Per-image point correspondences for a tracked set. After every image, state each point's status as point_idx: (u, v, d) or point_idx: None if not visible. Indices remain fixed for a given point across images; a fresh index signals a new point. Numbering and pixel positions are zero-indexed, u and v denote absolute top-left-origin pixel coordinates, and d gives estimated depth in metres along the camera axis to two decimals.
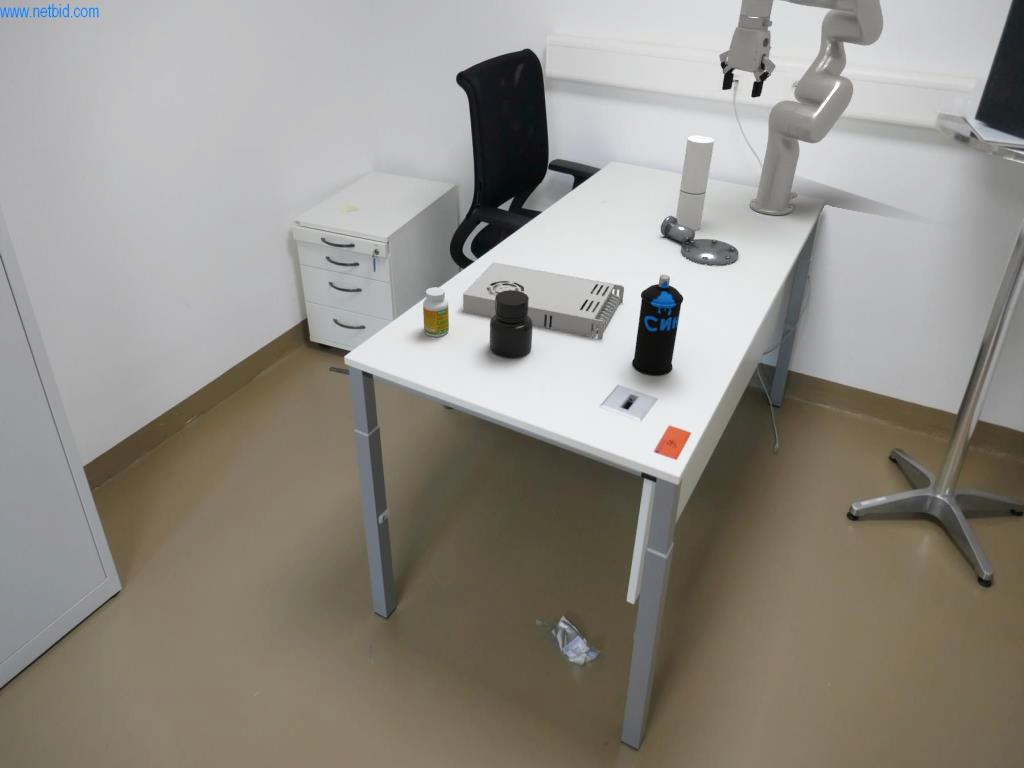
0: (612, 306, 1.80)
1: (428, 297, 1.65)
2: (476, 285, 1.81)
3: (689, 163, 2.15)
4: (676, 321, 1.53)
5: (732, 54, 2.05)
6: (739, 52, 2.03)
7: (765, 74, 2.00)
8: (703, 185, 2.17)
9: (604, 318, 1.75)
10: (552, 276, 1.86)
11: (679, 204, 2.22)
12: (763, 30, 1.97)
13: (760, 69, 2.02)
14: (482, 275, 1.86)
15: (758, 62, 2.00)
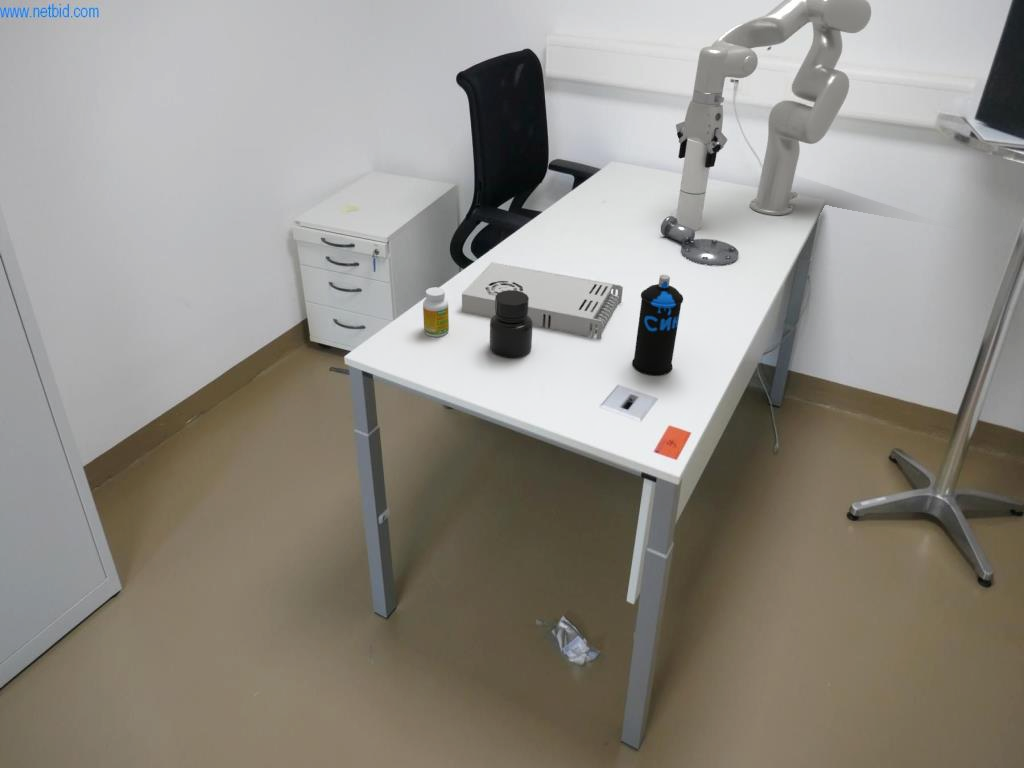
0: (611, 306, 1.80)
1: (428, 297, 1.65)
2: (475, 285, 1.81)
3: (689, 163, 2.15)
4: (676, 321, 1.53)
5: (687, 126, 2.12)
6: (693, 124, 2.10)
7: (717, 147, 2.08)
8: (703, 185, 2.17)
9: (603, 318, 1.75)
10: (551, 276, 1.86)
11: (679, 204, 2.22)
12: (715, 105, 2.05)
13: (713, 141, 2.10)
14: (481, 275, 1.86)
15: (711, 135, 2.08)
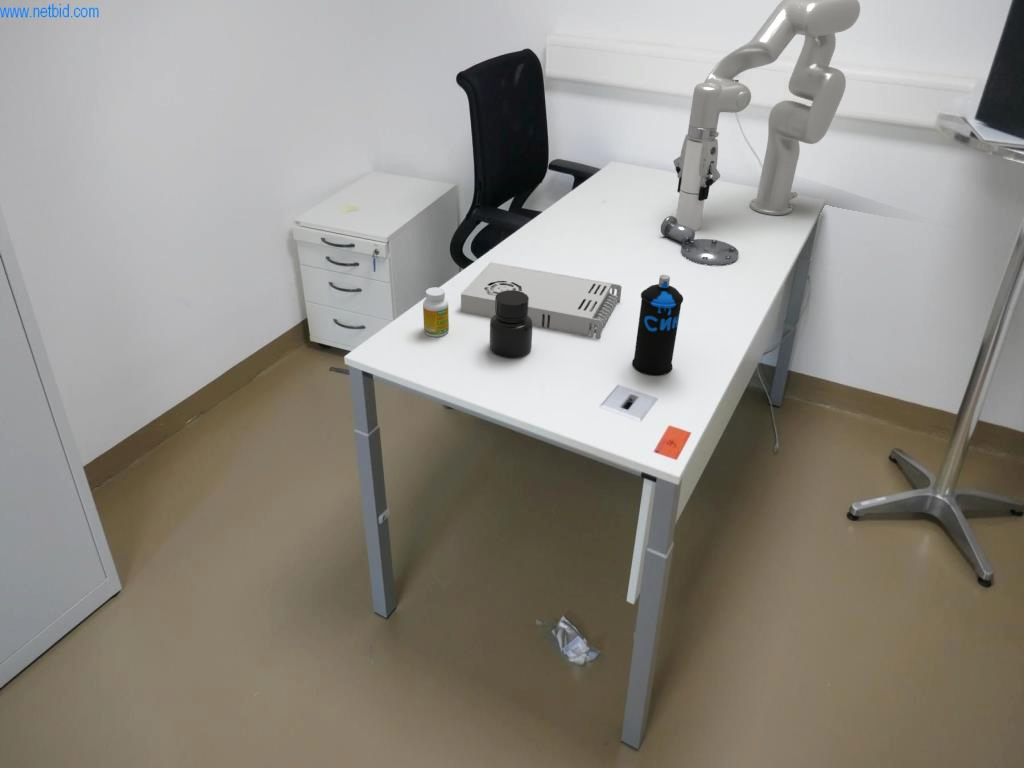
0: (610, 305, 1.80)
1: (428, 297, 1.65)
2: (474, 285, 1.81)
3: (689, 163, 2.15)
4: (676, 321, 1.53)
5: (683, 159, 2.17)
6: None
7: (710, 181, 2.14)
8: None
9: (602, 317, 1.75)
10: (549, 276, 1.86)
11: (679, 204, 2.22)
12: (710, 140, 2.10)
13: (707, 175, 2.16)
14: (480, 275, 1.86)
15: (706, 168, 2.13)
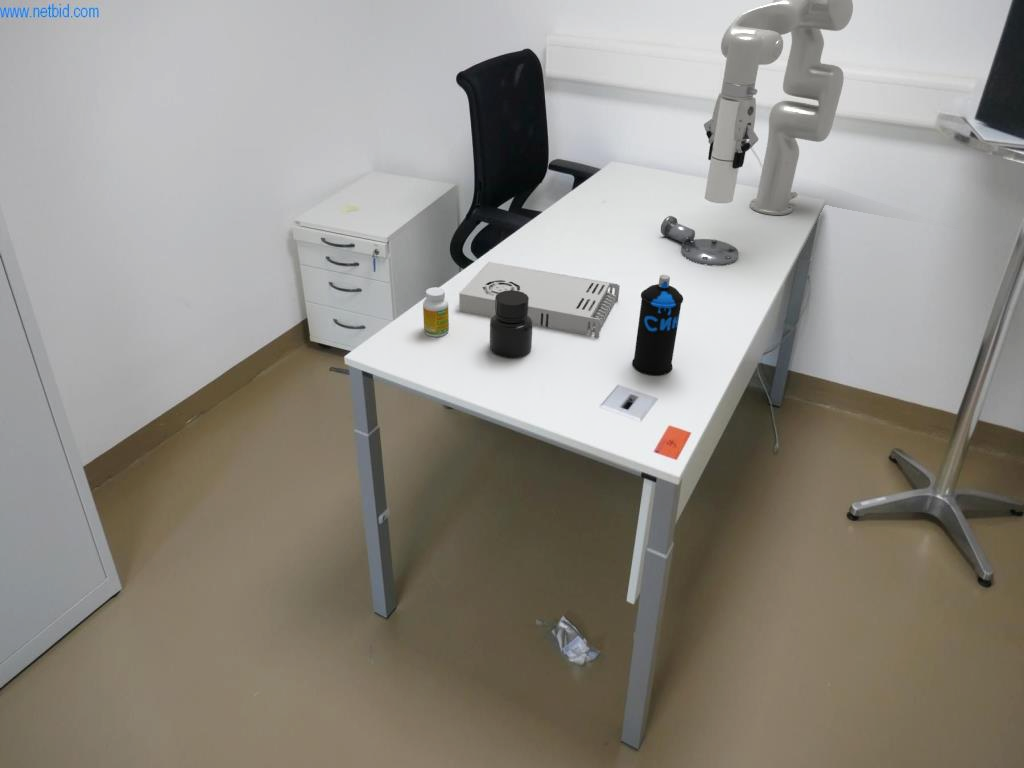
0: (608, 304, 1.80)
1: (428, 297, 1.65)
2: (472, 284, 1.81)
3: (722, 125, 1.90)
4: (676, 321, 1.53)
5: (715, 121, 1.93)
6: None
7: (747, 145, 1.89)
8: None
9: (600, 316, 1.75)
10: (548, 275, 1.87)
11: (710, 173, 1.98)
12: (748, 98, 1.86)
13: (743, 139, 1.91)
14: (478, 274, 1.86)
15: (743, 131, 1.88)
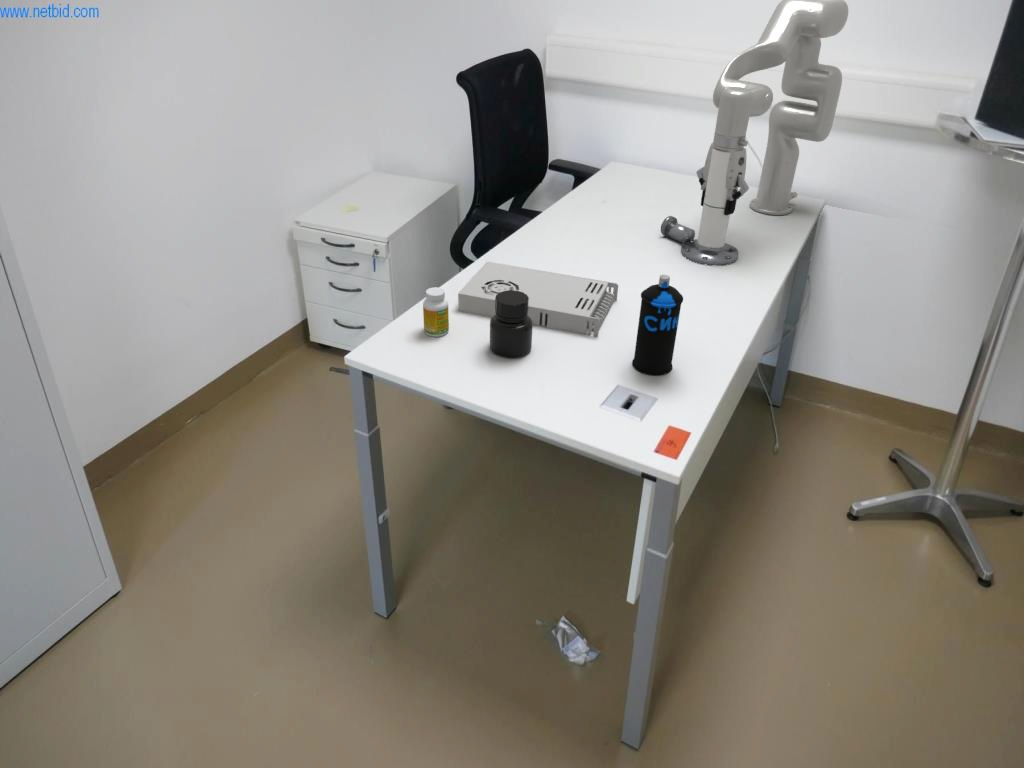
0: (607, 304, 1.81)
1: (428, 297, 1.65)
2: (471, 284, 1.81)
3: (714, 174, 1.96)
4: (676, 321, 1.53)
5: (708, 169, 1.99)
6: None
7: (738, 194, 1.96)
8: None
9: (599, 316, 1.76)
10: (546, 275, 1.87)
11: (702, 219, 2.04)
12: (738, 149, 1.92)
13: (734, 187, 1.97)
14: (477, 274, 1.86)
15: (734, 180, 1.95)
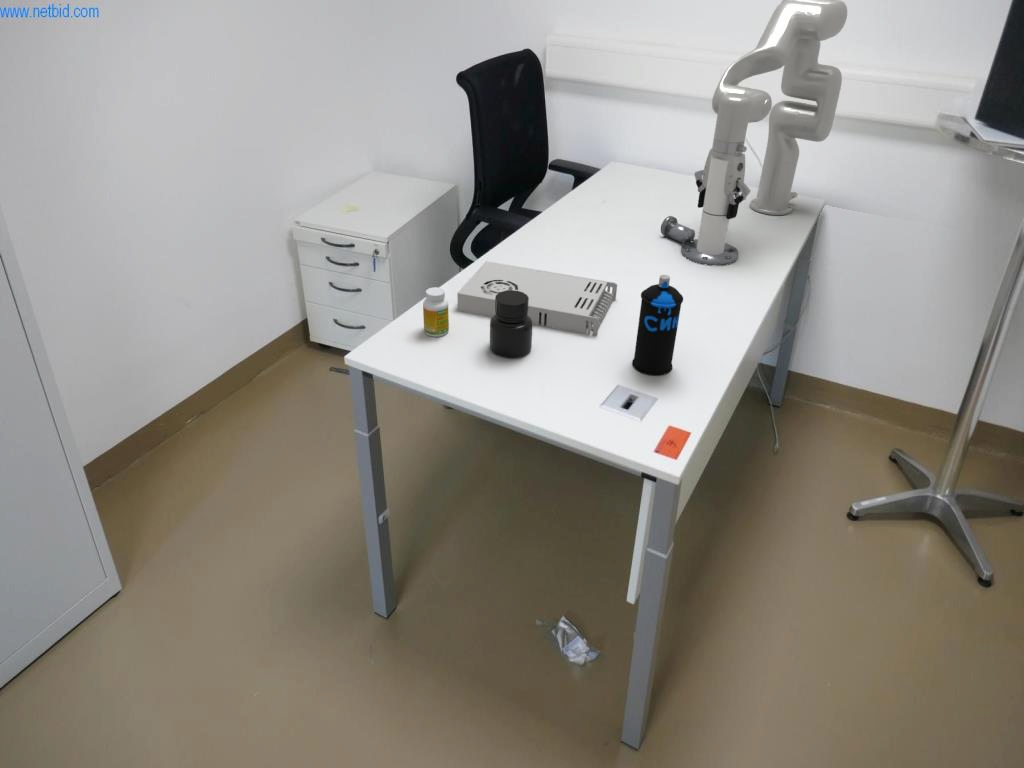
0: (606, 303, 1.81)
1: (428, 297, 1.65)
2: (470, 284, 1.81)
3: (713, 182, 1.98)
4: (676, 321, 1.53)
5: (707, 175, 2.00)
6: None
7: (740, 198, 1.96)
8: None
9: (598, 315, 1.76)
10: (545, 274, 1.87)
11: (701, 226, 2.05)
12: (737, 155, 1.93)
13: (735, 192, 1.98)
14: (476, 274, 1.86)
15: (733, 186, 1.95)
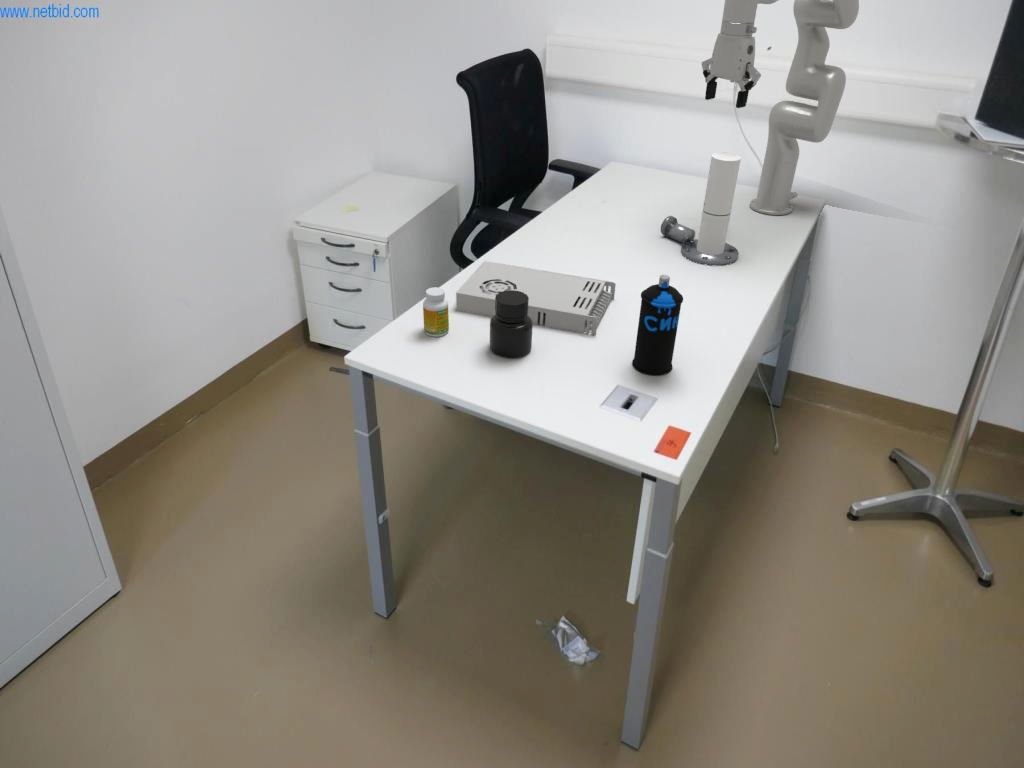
0: (604, 303, 1.81)
1: (428, 297, 1.65)
2: (468, 283, 1.82)
3: (713, 182, 1.98)
4: (676, 321, 1.53)
5: (715, 62, 1.93)
6: (722, 60, 1.91)
7: (750, 83, 1.88)
8: (728, 206, 2.00)
9: (597, 315, 1.76)
10: (544, 274, 1.87)
11: (702, 226, 2.06)
12: (747, 37, 1.85)
13: (745, 78, 1.90)
14: (474, 274, 1.86)
15: (742, 71, 1.88)
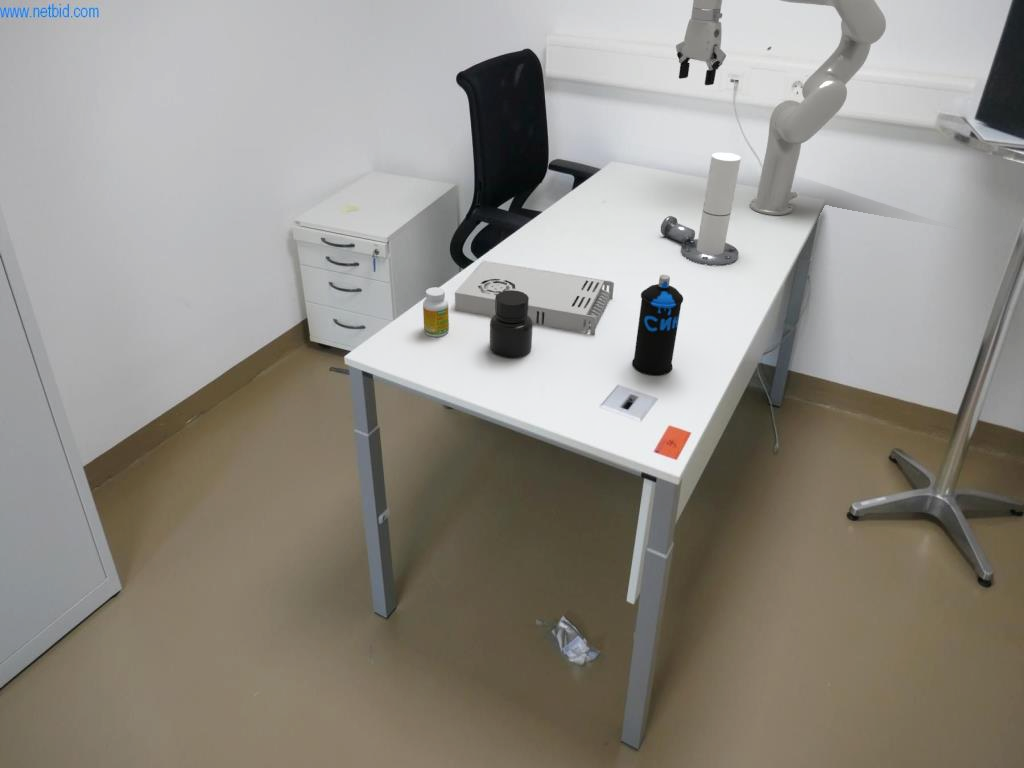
0: (603, 302, 1.81)
1: (428, 297, 1.65)
2: (467, 283, 1.82)
3: (713, 182, 1.98)
4: (676, 321, 1.53)
5: (687, 44, 2.18)
6: (693, 42, 2.16)
7: (716, 63, 2.14)
8: (728, 206, 2.00)
9: (595, 314, 1.76)
10: (542, 273, 1.87)
11: (702, 226, 2.06)
12: (714, 22, 2.11)
13: (712, 58, 2.16)
14: (473, 273, 1.86)
15: (710, 52, 2.13)
